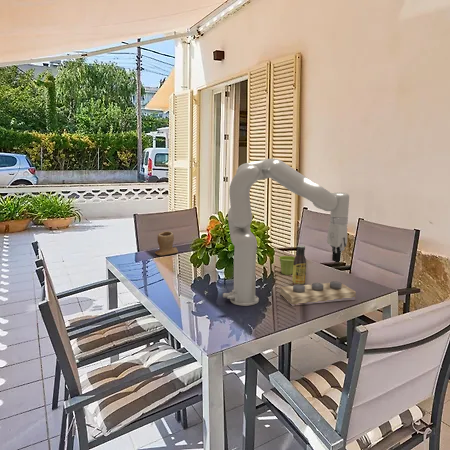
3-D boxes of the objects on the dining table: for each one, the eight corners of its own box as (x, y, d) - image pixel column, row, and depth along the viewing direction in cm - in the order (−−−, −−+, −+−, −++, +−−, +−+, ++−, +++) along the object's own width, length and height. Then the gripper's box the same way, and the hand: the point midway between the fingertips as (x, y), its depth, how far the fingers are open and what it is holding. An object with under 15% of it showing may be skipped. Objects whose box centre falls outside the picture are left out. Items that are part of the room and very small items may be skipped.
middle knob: (314, 299, 180) (314, 287, 179) (309, 295, 185) (309, 283, 184) (325, 298, 181) (325, 286, 180) (319, 295, 186) (320, 282, 185)
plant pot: (295, 271, 224) (295, 256, 222) (296, 276, 214) (297, 260, 213) (278, 270, 225) (278, 255, 223) (278, 275, 215) (279, 260, 214)
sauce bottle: (295, 288, 196) (296, 248, 192) (290, 284, 202) (291, 245, 198) (307, 286, 198) (309, 247, 194) (302, 282, 204) (303, 244, 200)
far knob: (332, 298, 182) (333, 285, 181) (327, 294, 187) (327, 281, 186) (343, 297, 183) (343, 284, 182) (337, 293, 188) (338, 280, 187)
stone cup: (160, 258, 252) (159, 234, 249) (153, 254, 262) (152, 231, 259) (182, 254, 259) (182, 232, 257) (174, 251, 269) (174, 229, 267)
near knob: (295, 301, 178) (295, 288, 177) (290, 297, 183) (291, 284, 182) (306, 300, 179) (306, 287, 178) (301, 296, 184) (302, 284, 183)
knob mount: (292, 306, 173) (292, 297, 172) (280, 295, 186) (280, 286, 185) (355, 300, 180) (355, 291, 179) (339, 290, 193) (339, 282, 192)
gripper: (323, 218, 185) (320, 257, 188) (339, 223, 171) (336, 265, 174) (338, 217, 187) (335, 256, 190) (355, 223, 172) (352, 265, 176)
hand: (336, 260), depth 182 cm, fingers closed
